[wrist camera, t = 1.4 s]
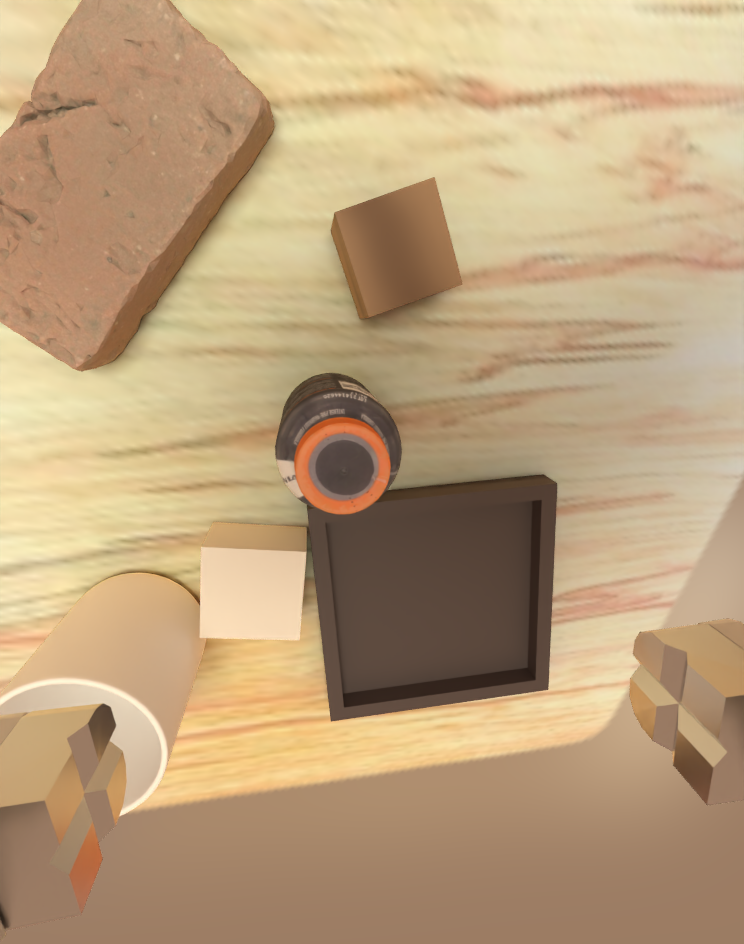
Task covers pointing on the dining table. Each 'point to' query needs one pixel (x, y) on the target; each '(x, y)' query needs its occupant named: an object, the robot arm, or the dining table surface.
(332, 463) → the pill bottle
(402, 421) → the dining table surface
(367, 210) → the walnut cube
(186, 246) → the brick
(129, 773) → the mug
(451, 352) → the dining table surface
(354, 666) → the tray
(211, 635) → the ceramic block
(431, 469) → the dining table surface
